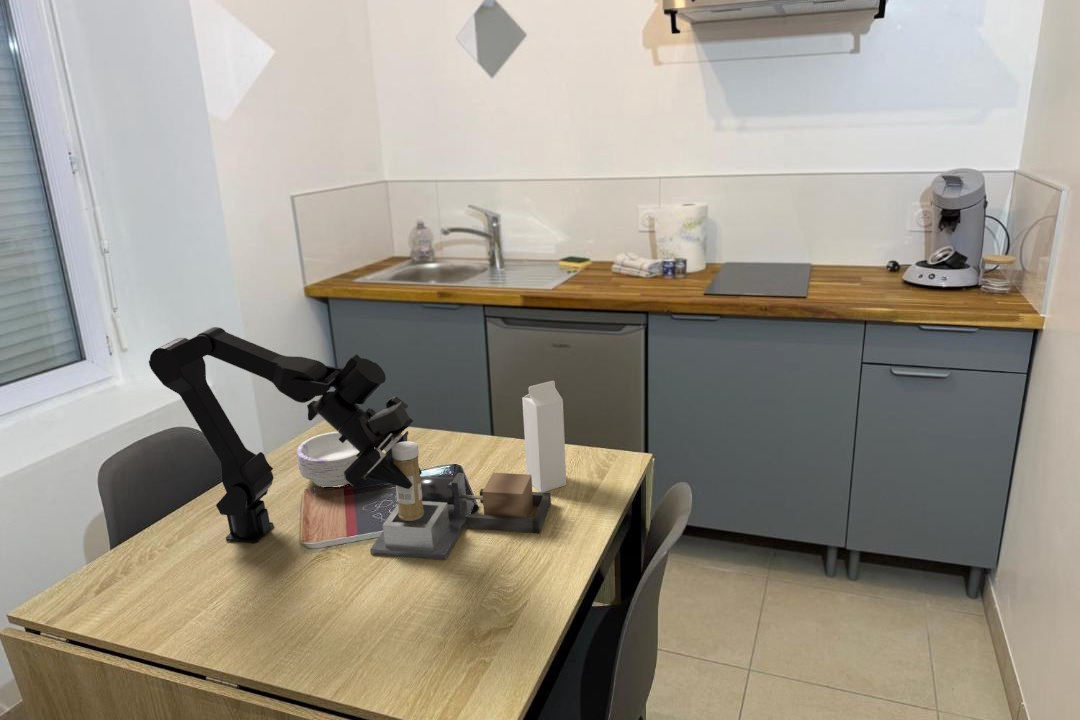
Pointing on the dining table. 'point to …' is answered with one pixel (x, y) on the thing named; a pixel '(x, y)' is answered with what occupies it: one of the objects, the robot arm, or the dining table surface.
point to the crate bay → (510, 505)
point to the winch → (428, 521)
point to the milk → (544, 436)
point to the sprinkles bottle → (408, 465)
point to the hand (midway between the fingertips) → (415, 480)
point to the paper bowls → (325, 459)
